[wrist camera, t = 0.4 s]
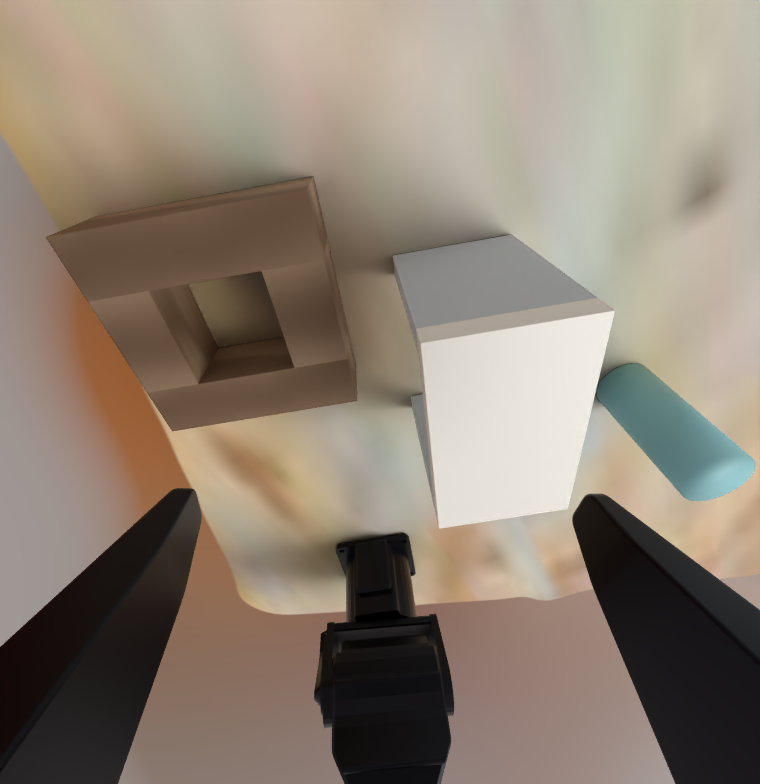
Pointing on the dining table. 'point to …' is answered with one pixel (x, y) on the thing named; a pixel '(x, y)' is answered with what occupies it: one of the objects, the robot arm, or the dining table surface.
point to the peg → (674, 434)
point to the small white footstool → (500, 376)
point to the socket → (184, 319)
